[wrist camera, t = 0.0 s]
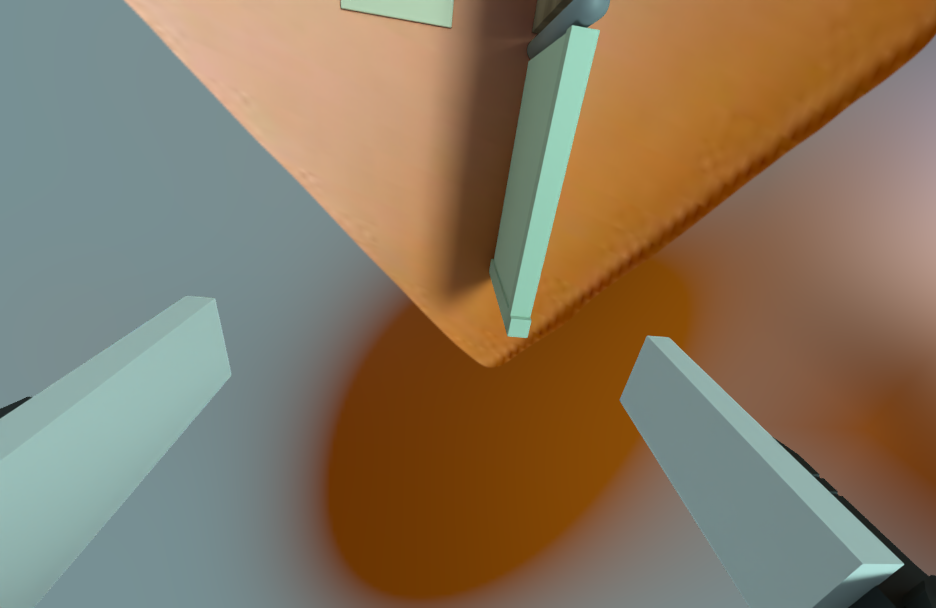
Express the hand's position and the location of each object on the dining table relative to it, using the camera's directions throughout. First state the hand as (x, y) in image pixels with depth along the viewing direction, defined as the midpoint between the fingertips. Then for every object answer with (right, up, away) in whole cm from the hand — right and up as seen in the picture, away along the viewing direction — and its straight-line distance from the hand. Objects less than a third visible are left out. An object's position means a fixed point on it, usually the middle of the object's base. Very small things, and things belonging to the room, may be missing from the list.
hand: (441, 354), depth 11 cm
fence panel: (+5, +15, +24) cm, 29 cm away
